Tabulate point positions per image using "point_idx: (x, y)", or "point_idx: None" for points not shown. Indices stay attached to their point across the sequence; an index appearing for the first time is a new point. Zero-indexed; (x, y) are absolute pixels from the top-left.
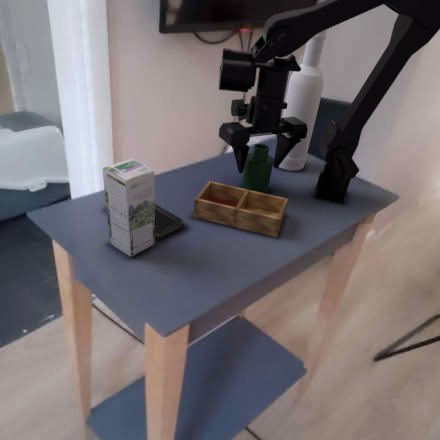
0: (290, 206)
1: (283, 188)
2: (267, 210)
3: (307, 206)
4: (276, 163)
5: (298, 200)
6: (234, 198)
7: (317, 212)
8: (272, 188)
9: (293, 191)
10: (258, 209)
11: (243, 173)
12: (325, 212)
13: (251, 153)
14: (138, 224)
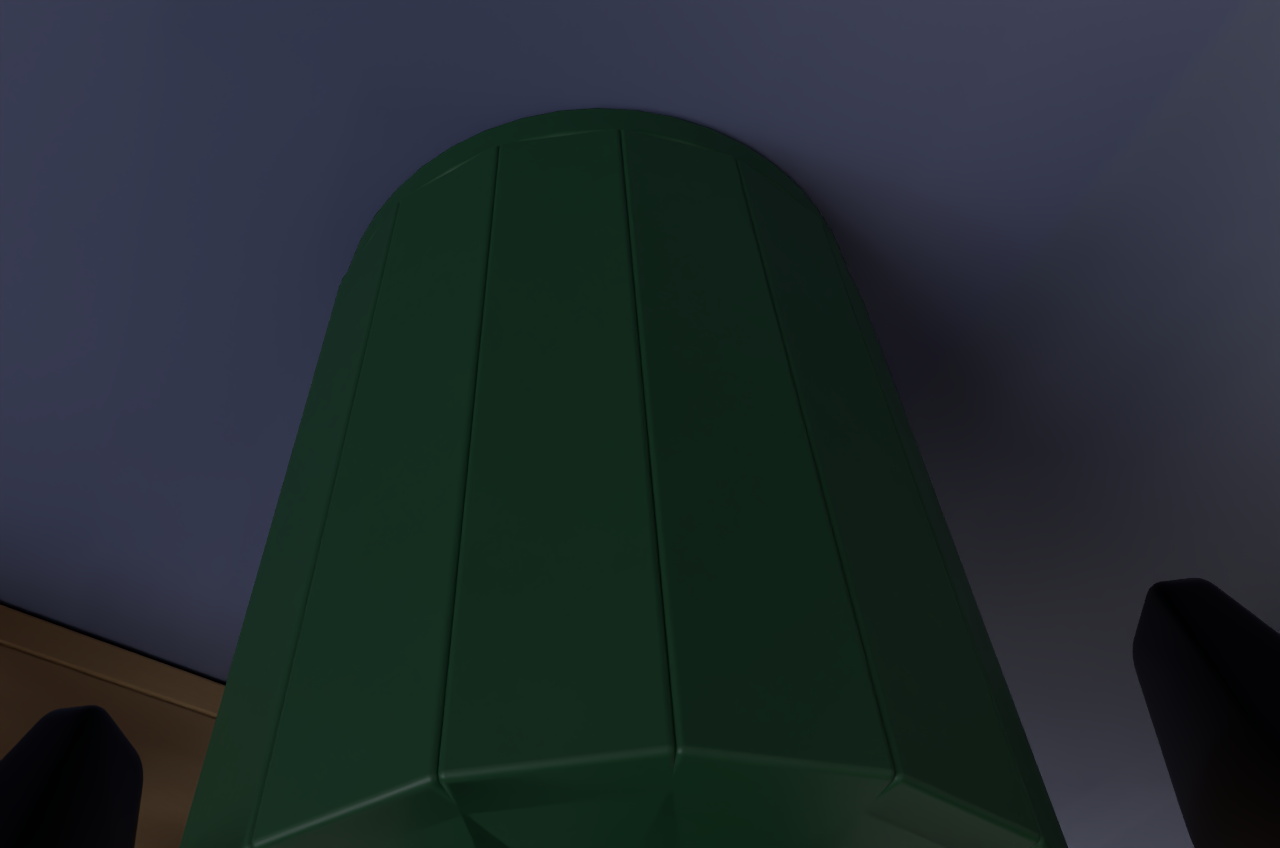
0: None
1: (1168, 372)
2: None
3: (1087, 756)
4: (1190, 755)
5: (1094, 659)
6: None
7: (1092, 834)
8: (970, 345)
9: (1246, 472)
10: None
11: (285, 476)
12: (1176, 840)
13: (463, 819)
14: None
